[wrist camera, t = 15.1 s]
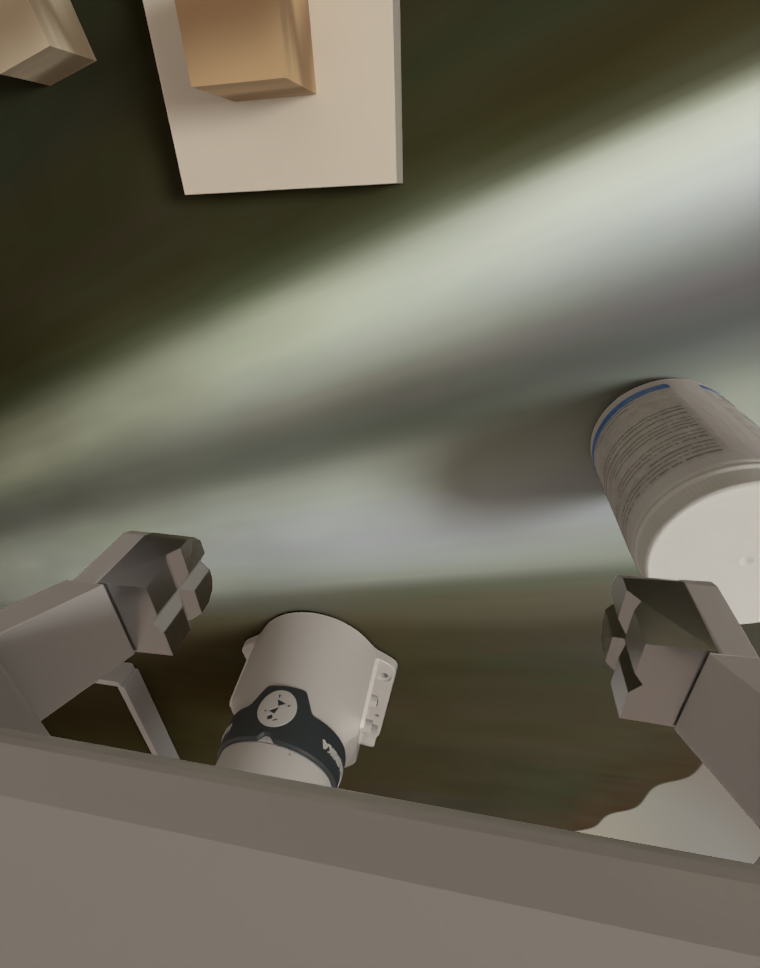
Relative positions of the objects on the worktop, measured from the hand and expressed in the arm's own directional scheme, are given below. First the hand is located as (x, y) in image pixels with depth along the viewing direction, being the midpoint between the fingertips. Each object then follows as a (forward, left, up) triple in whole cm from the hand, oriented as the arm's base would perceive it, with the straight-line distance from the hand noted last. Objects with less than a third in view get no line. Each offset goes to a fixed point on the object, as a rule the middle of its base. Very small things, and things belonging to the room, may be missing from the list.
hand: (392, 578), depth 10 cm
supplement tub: (-10, -15, -29) cm, 34 cm away
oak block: (+14, +11, -27) cm, 32 cm away
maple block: (+16, +26, -29) cm, 42 cm away
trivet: (+14, +11, -29) cm, 34 cm away
